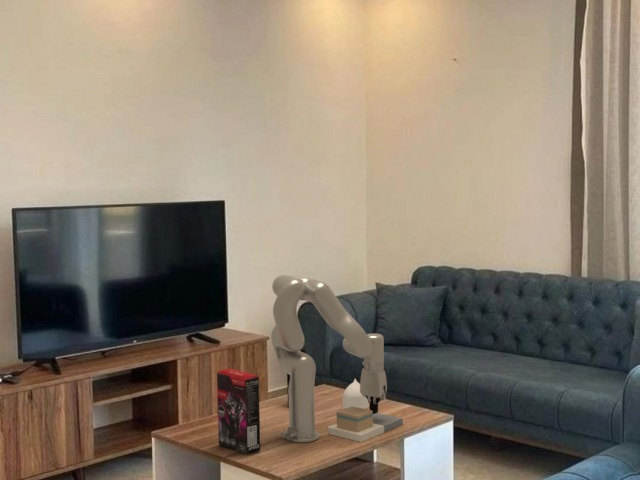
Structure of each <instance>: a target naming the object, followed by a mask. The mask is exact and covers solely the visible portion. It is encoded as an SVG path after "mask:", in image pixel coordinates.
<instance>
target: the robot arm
mask: <svg viewBox="0 0 640 480" xmlns="http://www.w3.org/2000/svg"><path fill="white" fill-rule="evenodd" d="M271 286H272V291H273V293H274V294H275V295H276V298H275V301H274V304H273V307H272V314H273V315H272V316H273V320H274V323H275V325H274V326H273V328H272V331H271V334H270V335H271V337H270V339H271V344H272V346H273V350H274V352H275V356H276V359H277V363H278V365H279V367H280V369H281V370H282V371H283V372H284V373H286V375H287V374H289V375H290V382H289V389H288V391H287V396H288V395H289V408H288V417H289V419H288V420H289V422H288V423H289V425H288V426H287V430H286V431H283V432H281V433H280V437H281V438H282V439H284V438H285V439H286V440H287V441H288V442H293V443H309V442H314V441H317V440H318V439H319V438H320V433H319V432H318V431H317V430H316V412H315V411H316V408H315V406H316V405H315V379H316V371H317V368H316V367H317V366H316V362H315V360H314V359H313V358H312V356H311V355H310V354H308V353H307V354H305V353H303V352H301V351H300V350H301V349H302V347H303V346H305V335H304V332H303V329H302V326H301V324H300V320H299V316H298V312H297V307H298V304H299V302H300V301H306V302H309V303H310V302H311V303H312V304H313V305H314V307H315V308H316V311H318V312H319V314H320V315H321V318H323V320H324V321H325V322H326V324H327V325H328V326H329V327H330V328H331V329H333V330H335V331H336V332H338V334H340V335H341V336H343V340H342V347H343V349H344V351H346V352H347V354H351V355H352V356H356V357H357V358H361V359H363V361H362V365H363V368H362V369H361V375H360V381H359V384H360V393H361V394H362V396H364V397H366V398H367V400H368V404H369V410H371V411H373V414H376V413H379V403H380V402H381V401H385V400H386V399H387V398H386V396H387V393H388V383H387V375H386V370H384V369H385V366H384V365H385V364H384V362H385V361H384V360H385V353H384V352H385V350H384V348H385V347H384V346H385V345H384V344H385V343H384V340H385V338H384V336H383V335H382V334H380V333H366V331H365V329H363V327H362V326H361V325H360V324H359V322H357V321H356V320H355V319H354V318H353V317H352V315H351V314H350V313H349V312H348V311H347V310H346V309H345V307H344V306H343V304H342V303H341V302H340V300H339V299H338V298H337V296H336V295H335V293H334V292H333V290H332V289H331V288H330V286H329V285H328V284H327V283H326V282H325V281H322V280H316V279H314V278H313V279H311V278H304V277H297V276H291V275H286V274H283V275H278V276H277V277H276V278H274V280H273V281H272V285H271Z"/></svg>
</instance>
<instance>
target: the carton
mask: <svg viewBox="0 0 640 480" xmlns="http://www.w3.org/2000/svg"><path fill="white" fill-rule="evenodd" d="M336 424H337V428H341V429H345V430H349V431H353V432H361V431H363V430H365V429H368V428H370V427H373V411H371V410H370V409H367V408H366V409H362V408H357V407H353V406H351V407H348V408H346V409H345V408H343V409H341V410H338V411H336Z"/></svg>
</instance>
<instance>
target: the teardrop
mask: <svg viewBox="0 0 640 480" xmlns="http://www.w3.org/2000/svg"><path fill="white" fill-rule="evenodd" d="M351 406H353V407H357V408H362V409H367V408H369V407H370V403H368V400H367V398H366V397H364V396H362V394H361V393H360V382H359V381H358V380H357V379H356V378H354V380H353V382H351V383H350V384H349V385H348V386H347V387H346V388H345V390H344V392H343V396H342V408H343V409H346V408H348V407H351Z"/></svg>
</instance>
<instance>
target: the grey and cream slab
mask: <svg viewBox="0 0 640 480" xmlns="http://www.w3.org/2000/svg"><path fill="white" fill-rule="evenodd" d="M403 421H404V420H403V417H399V416H393V415H389V414H385V413H381V412H378V413H376V414H373V427H370V428H368V429H365V430H363V431H361V432H353V431H349V430H345V429H341V428H337V423H335V424H332V425H330V426H327V428H326V429H327V431H326V432H327V434H328V435H332V436H336V437H339V438H343V439H347V440H351V441H355V442H358V443H362V442H365V441H368V440H370V439H372V438H375V437H377V436H380V435H382V434H384V433H386V432H389V431H391V430H394V429H396V428H398V427H401V426H403V425H404V424H403V423H404V422H403Z"/></svg>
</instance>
